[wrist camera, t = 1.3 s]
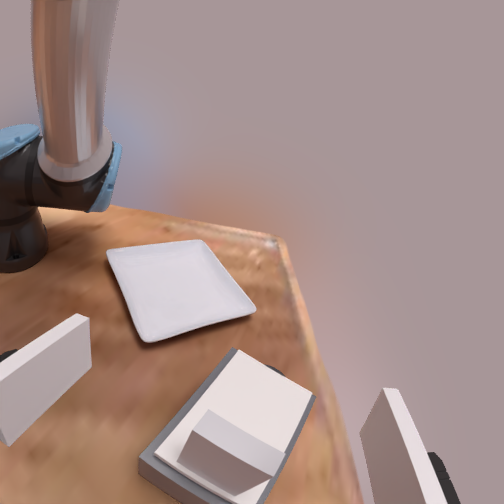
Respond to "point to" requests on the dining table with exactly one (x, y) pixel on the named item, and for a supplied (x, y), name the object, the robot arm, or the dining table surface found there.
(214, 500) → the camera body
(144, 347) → the dining table surface
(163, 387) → the dining table surface
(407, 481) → the robot arm
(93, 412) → the dining table surface
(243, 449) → the side cover
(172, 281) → the salad plate
